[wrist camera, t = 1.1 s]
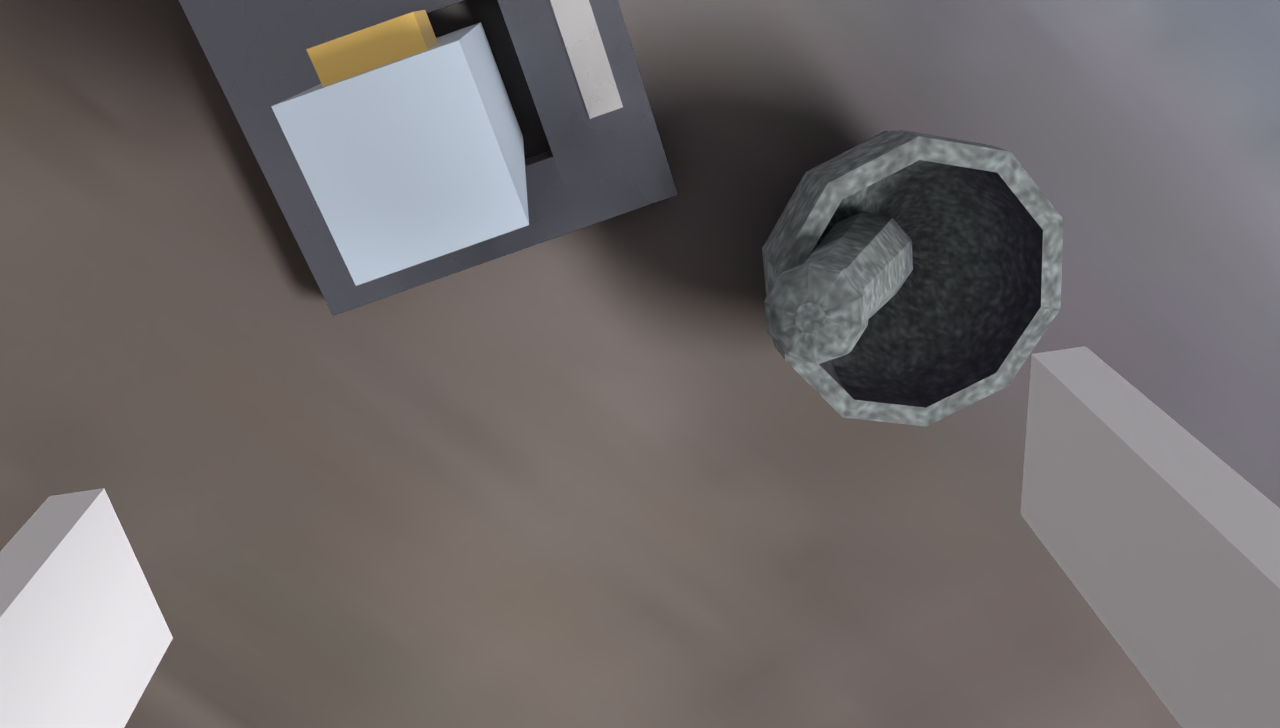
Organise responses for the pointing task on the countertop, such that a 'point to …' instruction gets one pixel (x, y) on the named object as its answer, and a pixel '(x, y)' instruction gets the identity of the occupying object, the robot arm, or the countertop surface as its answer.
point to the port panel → (556, 76)
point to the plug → (408, 144)
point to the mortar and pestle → (912, 276)
